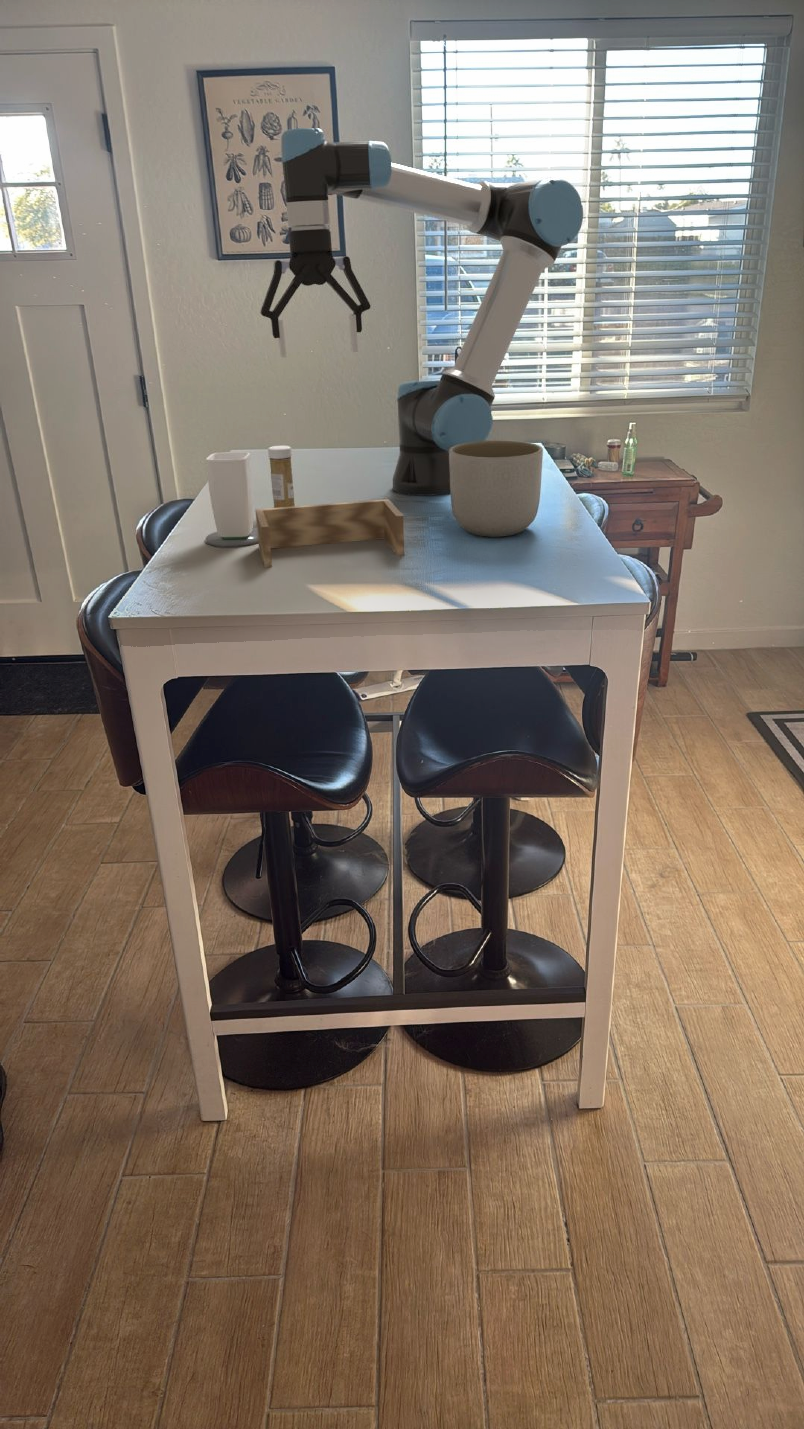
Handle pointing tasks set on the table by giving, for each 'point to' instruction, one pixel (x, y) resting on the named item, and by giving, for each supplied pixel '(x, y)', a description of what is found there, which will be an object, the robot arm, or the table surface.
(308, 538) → the wooden stand
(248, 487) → the cup
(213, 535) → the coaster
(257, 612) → the table surface
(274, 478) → the sprinkles bottle
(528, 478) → the planter
